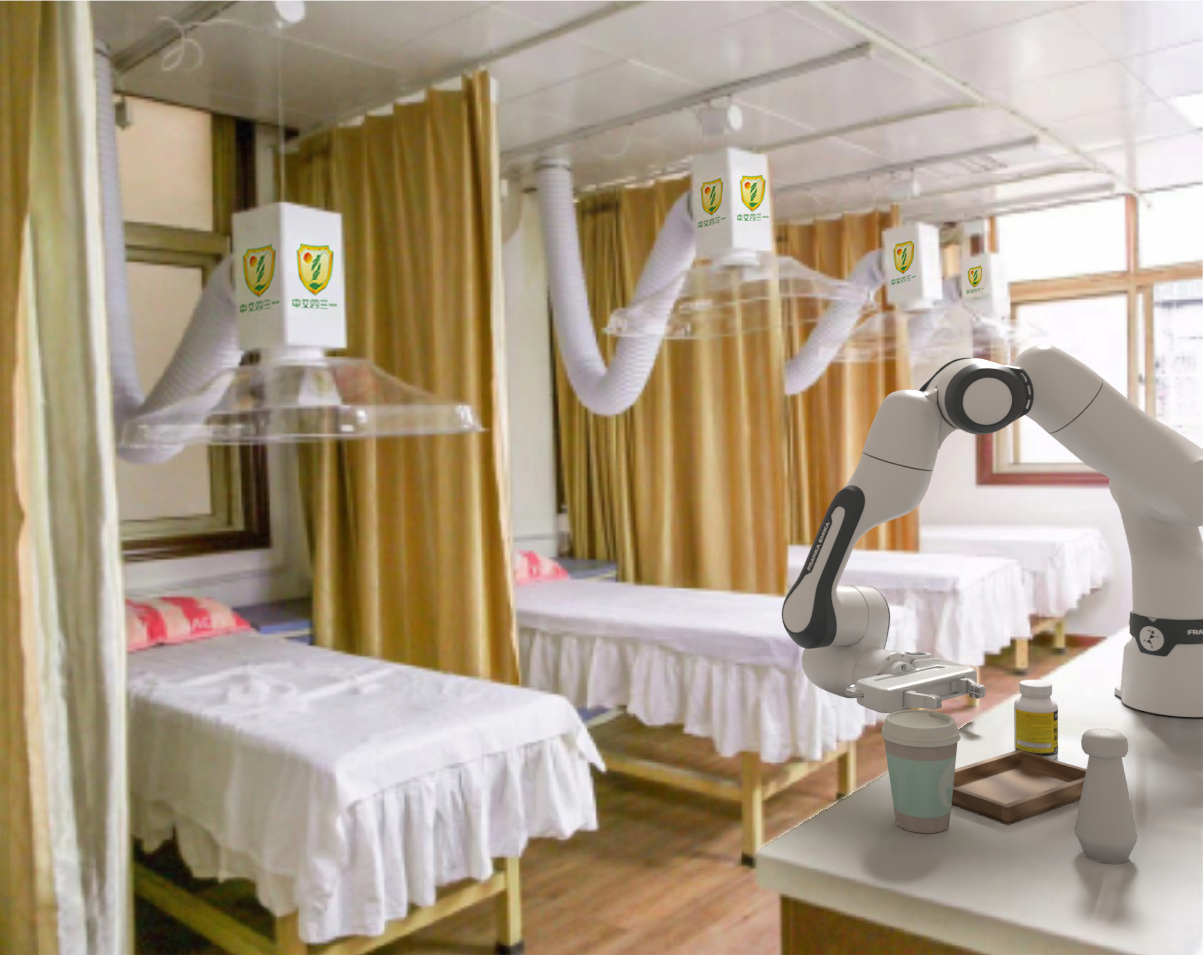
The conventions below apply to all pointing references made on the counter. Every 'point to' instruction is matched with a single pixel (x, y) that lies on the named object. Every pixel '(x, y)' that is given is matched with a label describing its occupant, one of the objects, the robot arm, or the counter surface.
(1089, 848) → the salt shaker
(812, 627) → the robot arm
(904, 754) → the coffee cup
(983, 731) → the counter surface
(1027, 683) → the supplement bottle
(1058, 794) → the tray
